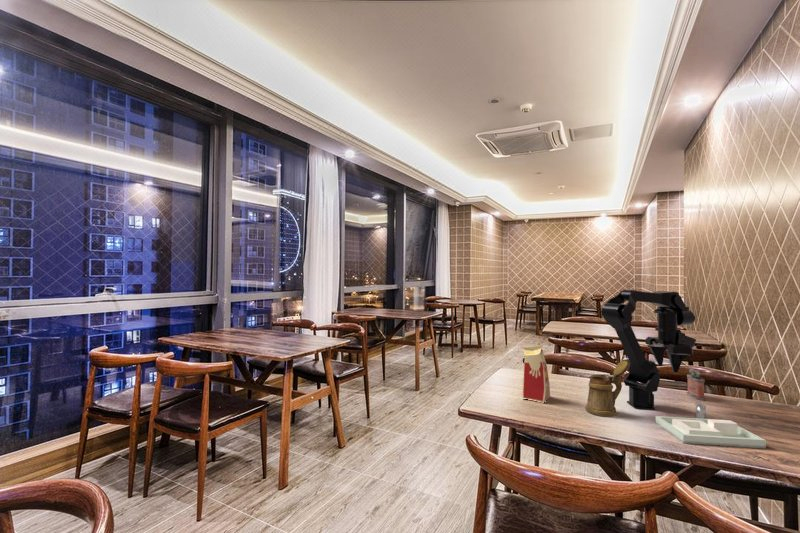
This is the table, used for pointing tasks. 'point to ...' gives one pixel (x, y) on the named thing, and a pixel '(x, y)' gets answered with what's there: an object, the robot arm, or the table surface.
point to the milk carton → (535, 375)
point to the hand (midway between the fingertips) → (667, 368)
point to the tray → (741, 440)
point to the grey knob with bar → (700, 410)
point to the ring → (706, 427)
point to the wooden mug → (605, 392)
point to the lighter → (695, 385)
